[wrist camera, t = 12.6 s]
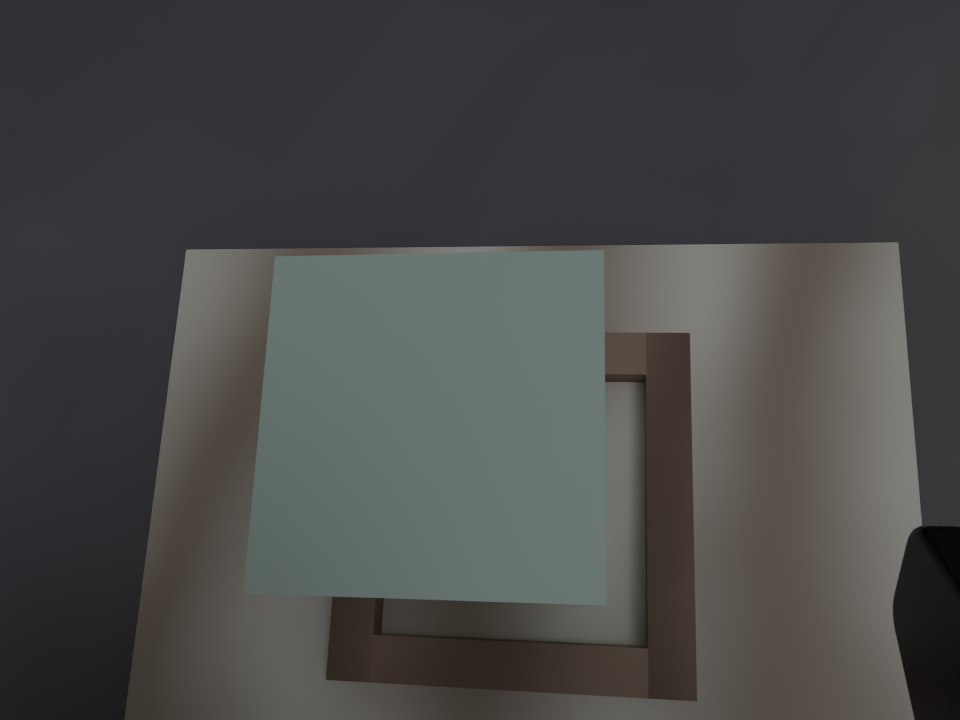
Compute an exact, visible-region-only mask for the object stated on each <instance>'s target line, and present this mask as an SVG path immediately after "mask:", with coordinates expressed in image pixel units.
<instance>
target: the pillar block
mask: <svg viewBox="0 0 960 720" xmlns="http://www.w3.org/2000/svg"><path fill="white" fill-rule="evenodd" d="M243 594H272V595H302V596H332V597H363V598H393V599H423V600H454V601H484V602H514V603H545V604H575V605H605V606H606V477H605V313H604V250H576V251H525V252H473V253H422V254H371V255H320V256H275V261H274V272H273V282H272V293H271V304H270V314H269V325H268V335H267V346H266V357H265V367H264V378H263V389H262V399H261V410H260V420H259V431H258V442H257V452H256V463H255V474H254V484H253V495H252V505H251V516H250V527H249V537H248V548H247V559H246V569H245V580H244V591H243Z"/></svg>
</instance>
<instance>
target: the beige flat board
mask: <svg viewBox="0 0 960 720" xmlns="http://www.w3.org/2000/svg"><path fill="white" fill-rule="evenodd" d="M576 250H604V313H605V477H606V606H605V605H575V604H545V603H514V602H484V601H454V600H423V599H393V598H363V597H332V596H302V595H272V594H243V591H244V580H245V569H246V559H247V548H248V537H249V527H250V516H251V505H252V495H253V484H254V474H255V463H256V452H257V442H258V431H259V420H260V410H261V399H262V389H263V378H264V367H265V357H266V346H267V335H268V325H269V314H270V304H271V293H272V282H273V272H274V261H275V256H320V255H371V254H422V253H473V252H525V251H576ZM919 526H922V520H921V508H920V496H919V484H918V472H917V460H916V449H915V437H914V425H913V413H912V401H911V389H910V377H909V365H908V353H907V341H906V329H905V317H904V305H903V293H902V281H901V269H900V257H899V246H898V243H804V244H706V245H608V246H510V247H412V248H313V249H215V250H186V257H185V264H184V272H183V279H182V287H181V295H180V302H179V310H178V317H177V325H176V332H175V340H174V347H173V355H172V363H171V370H170V378H169V385H168V393H167V400H166V408H165V416H164V423H163V431H162V438H161V446H160V453H159V461H158V468H157V476H156V484H155V491H154V499H153V506H152V514H151V521H150V529H149V537H148V544H147V552H146V559H145V567H144V574H143V582H142V589H141V597H140V605H139V612H138V620H137V627H136V635H135V642H134V650H133V658H132V665H131V673H130V680H129V688H128V695H127V703H126V710H125V718H124V720H914V715H913V711H912V706H911V702H910V697H909V692H908V688H907V683H906V679H905V674H904V670H903V665H902V660H901V656H900V651H899V647H898V642H897V638H896V633H895V628H894V622H893V598H894V593H895V589H896V585H897V581H898V577H899V572H900V568H901V564H902V560H903V556H904V552H905V547H906V543H907V540H908V537H909V535H910V533H911V532H912V530H913V529H915V528H917V527H919Z"/></svg>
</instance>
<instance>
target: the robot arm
mask: <svg viewBox="0 0 960 720" xmlns="http://www.w3.org/2000/svg"><path fill="white" fill-rule="evenodd" d="M893 622H894V628H895V633H896V638H897V642H898V647H899V651H900V656H901V660H902V665H903V670H904V674H905V679H906V683H907V688H908V692H909V697H910V702H911V706H912V711H913V715H914V720H960V527H953V526H919V527H917V528H915V529H913V530H912V532H911V533H910V535H909V537H908V540H907V543H906V547H905V552H904V556H903V560H902V564H901V568H900V572H899V577H898V581H897V585H896V589H895V593H894V598H893Z"/></svg>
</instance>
